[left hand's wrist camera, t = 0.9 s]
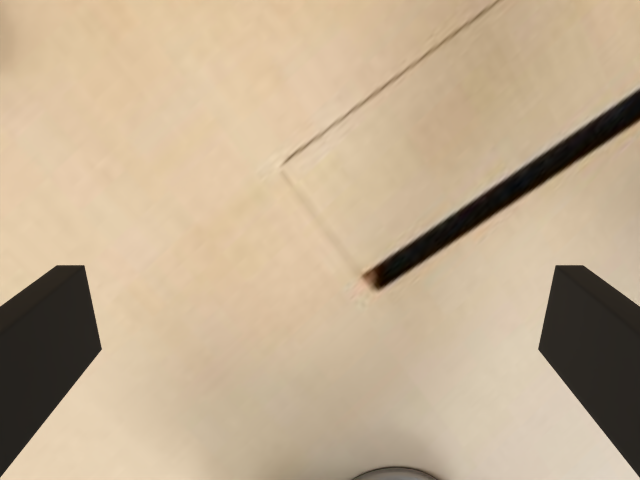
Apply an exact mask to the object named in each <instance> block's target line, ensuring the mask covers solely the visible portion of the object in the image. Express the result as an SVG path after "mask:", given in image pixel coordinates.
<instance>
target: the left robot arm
mask: <svg viewBox="0 0 640 480" xmlns="http://www.w3.org/2000/svg"><path fill="white" fill-rule="evenodd" d="M101 350H102V348H101V343H100V338H99V334H98V329H97V324H96V319H95V314H94V310H93V305H92V300H91V295H90V290H89V285H88V281H87V276H86V271H85V266H84V265H57V266H55V267H54V268H53V269H51V270H50V271H48V272H47V273H46V274H44V275H43V276H42V277H40V278H39V279H38V280H36V281H35V282H33V283H32V284H31V285H29V286H28V287H27V288H25V289H24V290H22V291H21V292H20V293H18V294H17V295H16V296H14V297H13V298H11V299H10V300H9V301H7V302H6V303H5V304H3V305H2V306H0V477H1V476H2V475H3V473H4V472H5V471H6V470H7V468H8V467H9V466H10V465H11V463H12V462H13V461H14V459H15V458H16V457H17V456H18V454H19V453H20V452H21V451H22V449H23V448H24V447H25V446H26V444H27V443H28V442H29V441H30V439H31V438H32V437H33V435H34V434H35V433H36V432H37V430H38V429H39V428H40V427H41V425H42V424H43V423H44V422H45V420H46V419H47V418H48V417H49V415H50V414H51V413H52V411H53V410H54V409H55V408H56V406H57V405H58V404H59V403H60V401H61V400H62V399H63V398H64V396H65V395H66V394H67V393H68V391H69V390H70V389H71V388H72V386H73V385H74V384H75V382H76V381H77V380H78V379H79V377H80V376H81V375H82V374H83V372H84V371H85V370H86V369H87V367H88V366H89V365H90V364H91V362H92V361H93V360H94V358H95V357H96V356H97V355H98V353H99V352H100V351H101ZM538 350H539V351H540V352H541V353H542V355H543V356H544V357H545V358H546V360H547V361H548V362H549V364H550V365H551V366H552V367H553V369H554V370H555V371H556V372H557V374H558V375H559V376H560V377H561V379H562V380H563V381H564V382H565V384H566V385H567V386H568V388H569V389H570V390H571V391H572V393H573V394H574V395H575V396H576V398H577V399H578V400H579V401H580V403H581V404H582V405H583V406H584V408H585V409H586V410H587V411H588V413H589V414H590V415H591V417H592V418H593V419H594V420H595V422H596V423H597V424H598V425H599V427H600V428H601V429H602V430H603V432H604V433H605V434H606V435H607V437H608V438H609V439H610V441H611V442H612V443H613V444H614V446H615V447H616V448H617V449H618V451H619V452H620V453H621V454H622V456H623V457H624V458H625V459H626V461H627V462H628V463H629V465H630V466H631V467H632V468H633V470H634V471H635V472H636V473H637V475H638V476H639V477H640V306H638V305H637V304H635V303H634V302H633V301H631V300H630V299H629V298H627V297H626V296H624V295H623V294H622V293H620V292H619V291H618V290H616V289H615V288H613V287H612V286H611V285H609V284H608V283H607V282H605V281H604V280H602V279H601V278H600V277H598V276H597V275H596V274H594V273H593V272H592V271H590V270H589V269H587V268H586V267H585V266H583V265H556V266H555V271H554V276H553V281H552V285H551V290H550V295H549V300H548V305H547V310H546V314H545V319H544V324H543V329H542V334H541V338H540V343H539V348H538ZM353 480H437V479H435V478H434V477H432V476H430V475H428V474H426V473H423V472H420V471H417V470H413V469H407V468H385V469H379V470H375V471H371V472H368V473H365V474H363V475H361V476H359V477H357V478H355V479H353Z"/></svg>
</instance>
